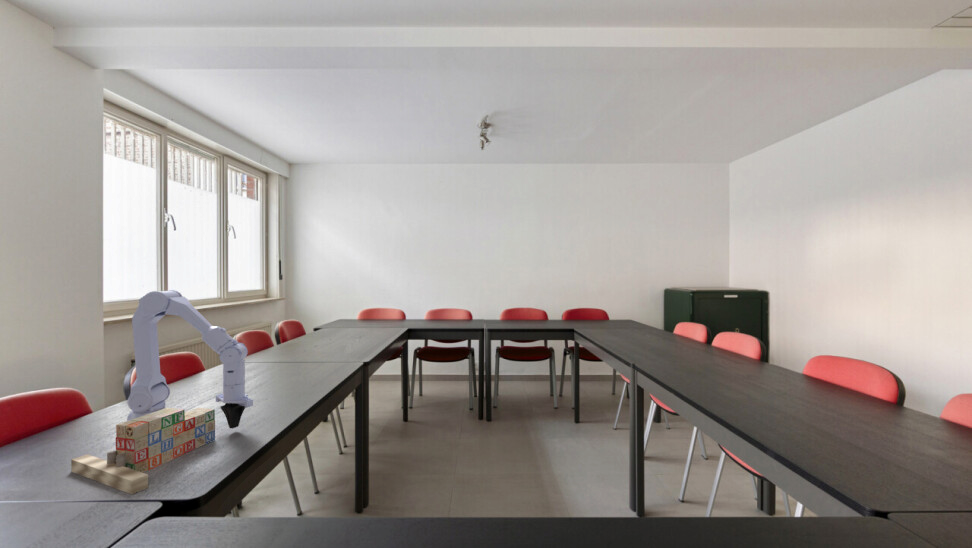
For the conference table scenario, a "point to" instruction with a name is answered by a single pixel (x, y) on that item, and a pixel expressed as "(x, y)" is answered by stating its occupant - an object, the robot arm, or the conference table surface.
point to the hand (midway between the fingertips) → (233, 427)
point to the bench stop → (110, 472)
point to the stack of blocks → (163, 436)
